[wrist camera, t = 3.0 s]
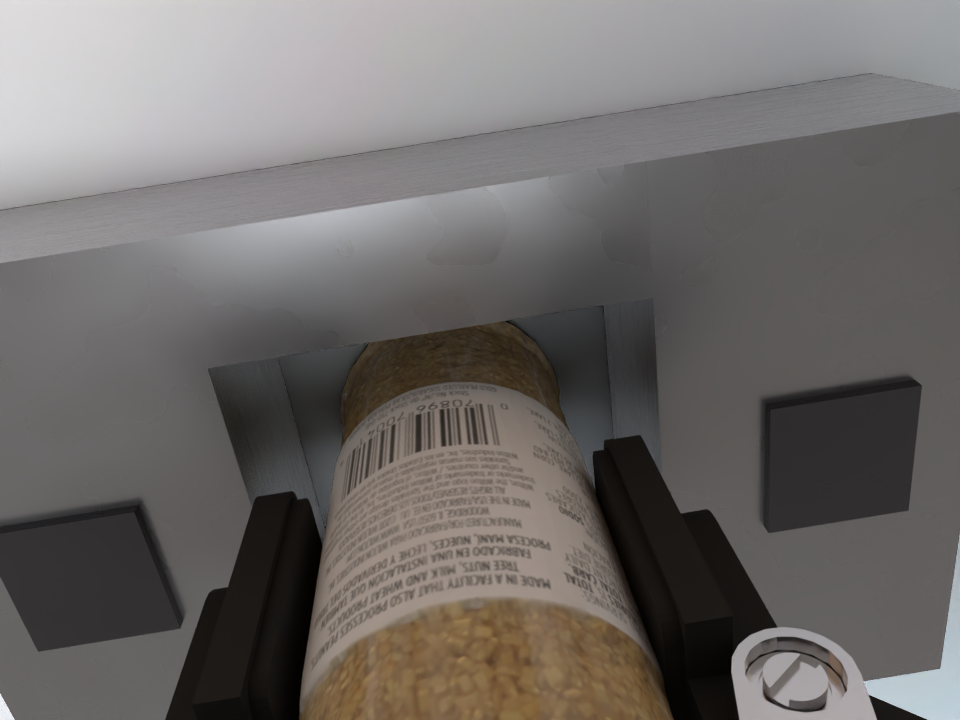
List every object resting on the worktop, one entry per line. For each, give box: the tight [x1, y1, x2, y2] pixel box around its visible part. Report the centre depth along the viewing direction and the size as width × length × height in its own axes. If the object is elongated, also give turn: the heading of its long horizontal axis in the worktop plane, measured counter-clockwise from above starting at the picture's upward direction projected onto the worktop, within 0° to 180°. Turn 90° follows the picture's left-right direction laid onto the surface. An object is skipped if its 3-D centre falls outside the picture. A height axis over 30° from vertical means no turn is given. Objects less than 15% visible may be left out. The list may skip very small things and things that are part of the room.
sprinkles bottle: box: [299, 321, 674, 720], centre depth 11 cm, size 5×5×13 cm
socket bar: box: [0, 73, 960, 720], centre depth 15 cm, size 17×11×4 cm, turn 98°
